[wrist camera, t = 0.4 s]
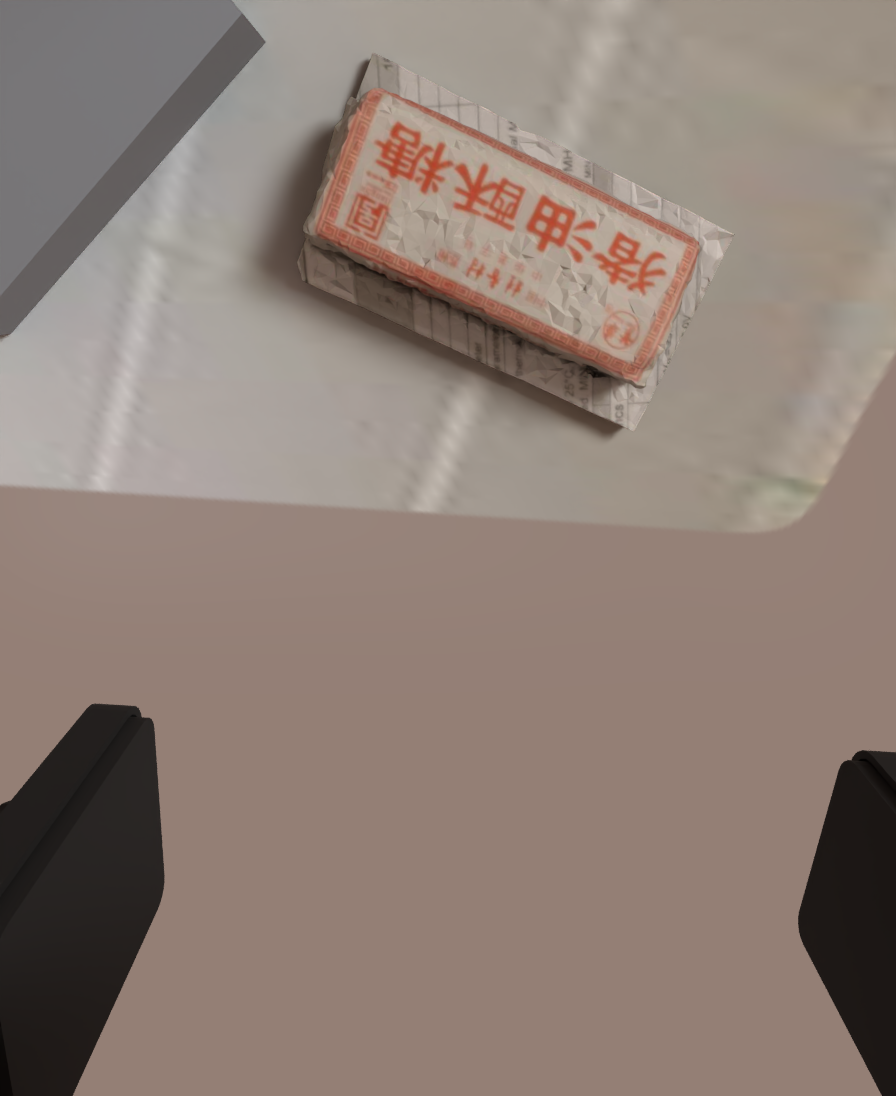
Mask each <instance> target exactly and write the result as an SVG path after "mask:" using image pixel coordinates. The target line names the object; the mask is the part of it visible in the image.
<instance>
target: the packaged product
mask: <svg viewBox="0 0 896 1096" xmlns="http://www.w3.org/2000/svg"><path fill="white" fill-rule="evenodd" d="M303 232H304V233H305V237H306V238H305V241H304V244H303V247H302V250H301V253H300V256H299V259H298V262H297V265H298V268H299V271H300V274H301V277H302V280H303V281H305V282H307V283H309V284H311V285H313V286H315V287H317V288H319V289H321V290H323V291H326V292H328V293H330V294H333V295H335V296H337V297H340V298H342V299H344V300H347V301H349V302H351V303H354V304H356V305H358V306H361V307H363V308H365V309H367V310H369V311H371V312H373V313H376V314H378V315H380V316H382V317H384V318H386V319H388V320H390V321H392V322H395V323H397V324H399V325H401V326H403V327H405V328H407V329H409V330H412V331H414V332H416V333H418V334H420V335H422V336H425V337H427V338H429V339H432V340H434V341H436V342H438V343H441V344H443V345H445V346H447V347H450V348H452V349H454V350H456V351H458V352H460V353H462V354H464V355H466V356H469V357H471V358H473V359H475V360H477V361H479V362H481V363H483V364H485V365H488V366H490V367H492V368H494V369H496V370H499V371H501V372H504V373H506V374H509V375H511V376H514V377H516V378H519V379H521V380H523V381H526V382H528V383H530V384H532V385H534V386H536V387H538V388H540V389H542V390H545V391H547V392H549V393H551V394H553V395H555V396H557V397H559V398H561V399H563V400H566V401H568V402H570V403H572V404H574V405H576V406H578V407H580V408H582V409H584V410H586V411H589V412H591V413H593V414H595V415H597V416H599V417H602V418H604V419H606V420H608V421H611V422H613V423H615V424H618V425H620V426H622V427H625V428H627V429H629V430H632V431H635V428H636V426H637V424H638V422H639V421H640V419H641V417H642V415H643V413H644V411H645V410H646V408H647V406H648V404H649V402H650V400H651V398H652V395H653V393H654V391H655V389H656V387H657V385H658V384H659V382H660V380H661V378H662V376H663V374H664V372H665V370H666V368H667V366H668V364H669V362H670V360H671V358H672V356H673V354H674V352H675V350H676V348H677V346H678V344H679V342H680V340H681V338H682V336H683V334H684V332H685V330H686V328H687V326H688V325H689V323H690V321H691V319H692V316H693V314H694V313H695V311H696V309H697V307H698V305H699V303H700V301H701V300H702V298H703V296H704V294H705V292H706V290H707V288H708V286H709V284H710V282H711V280H712V278H713V276H714V274H715V272H716V270H717V268H718V266H719V264H720V262H721V261H722V258H723V255H724V253H725V251H726V249H727V247H728V246H729V244H730V242H731V240H732V238H733V237H734V235H735V234H733V233H730V232H728V231H726V230H724V229H722V228H720V227H718V226H717V225H715V224H713V223H711V222H709V221H707V220H705V219H703V218H702V217H700V216H698V215H697V214H695V213H693V212H691V211H689V210H687V209H685V208H683V207H681V206H678V205H676V204H674V203H672V202H670V201H668V200H666V199H663V198H661V197H659V196H657V195H655V194H654V193H652V192H650V191H648V190H646V189H644V188H642V187H640V186H638V185H637V184H635V183H633V182H631V181H629V180H627V179H625V178H623V177H621V176H619V175H617V174H615V173H613V172H611V171H609V170H607V169H605V168H603V167H601V166H599V165H597V164H595V163H593V162H591V161H589V160H586V159H584V158H582V157H580V156H578V155H576V154H574V153H572V152H571V151H569V150H567V149H566V148H564V147H562V146H560V145H558V144H556V143H554V142H551V141H549V140H547V139H545V138H543V137H541V136H538V135H535V134H532V133H528V132H525V131H521V129H520V128H519V127H518V126H517V125H516V124H515V123H512V122H510V121H508V120H506V119H504V118H502V117H500V116H498V115H496V114H495V113H493V112H491V111H490V110H488V109H486V108H484V107H482V106H479V105H477V104H475V103H473V102H471V101H468V100H466V99H464V98H462V97H460V96H457V95H455V94H454V93H452V92H450V91H448V90H446V89H444V88H443V87H441V86H439V85H437V84H435V83H433V82H431V81H429V80H427V79H425V78H423V77H421V76H419V75H417V74H415V73H413V72H411V71H409V70H407V69H405V68H403V67H402V66H400V65H398V64H396V63H394V62H392V61H390V60H388V59H386V58H384V57H382V56H380V55H377V54H375V53H372V56H371V59H370V62H369V65H368V67H367V70H366V73H365V75H364V78H363V81H362V83H361V86H360V89H359V91H358V94H357V97H356V99H355V98H353V97H352V96H351V97H350V99H349V100H348V102H347V104H346V107H345V111H344V115H343V118H342V120H341V121H340V122H339V123H338V124H337V125H336V126H335V128H334V131H333V135H332V139H331V142H330V146H329V149H328V152H327V155H326V159H325V162H324V165H323V169H322V183H321V186H320V188H319V189H318V191H317V193H316V198H315V201H314V203H313V206H312V210H311V213H310V214H309V215H308V217H307V219H306V221H305V223H304V225H303Z"/></svg>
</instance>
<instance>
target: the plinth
mask: <svg viewBox="0 0 896 1096" xmlns="http://www.w3.org/2000/svg"><path fill="white" fill-rule="evenodd" d="M264 43H265V41H264V39H263V38H262V37H261V36H260V34H259V33H258V32H257V31H256V29H255V28H254V27H253V26H252V25H251V23H250V22H249V21H248V20H247V18H246V17H245V16H244V15H243V13H242V12H241V11H240V10H239V9H238V8H237V6H236V5H235V4H234V3H233V2H232V1H231V0H0V335H5V334H11V333H12V332H13V331H14V329H15V328H16V327H17V326H18V325H19V324H20V323H21V321H22V320H23V319H24V318H25V317H26V316H27V315H28V313H29V312H30V311H31V310H32V309H33V308H34V307H35V305H36V304H37V303H38V302H39V301H40V300H41V299H42V297H43V296H44V295H45V294H46V293H47V292H48V291H49V289H50V288H51V287H52V286H53V285H54V284H55V283H56V281H57V280H58V279H59V278H60V277H61V276H62V275H63V273H64V272H65V271H66V270H67V269H68V268H69V267H70V265H71V264H72V263H73V262H74V261H75V260H76V258H77V257H78V256H79V255H80V254H81V253H82V252H83V250H84V249H85V248H86V247H87V246H88V245H89V244H90V242H91V241H92V240H93V239H94V238H95V237H96V236H97V234H98V233H99V232H100V231H101V230H102V229H103V228H104V226H105V225H106V224H107V223H108V222H109V221H110V220H111V218H112V217H113V216H114V215H115V214H116V213H117V212H118V210H119V209H120V208H121V207H122V206H123V205H124V204H125V202H126V201H127V200H128V199H129V198H130V197H131V196H132V194H133V193H134V192H135V191H136V190H137V189H138V188H139V186H140V185H141V184H142V183H143V182H144V181H145V179H146V178H147V177H148V176H149V175H150V174H151V173H152V171H153V170H154V169H155V168H156V167H157V166H158V165H159V163H160V162H161V161H162V160H163V159H164V158H165V157H166V155H167V154H168V153H169V152H170V151H171V150H172V149H173V147H174V146H175V145H176V144H177V143H178V142H179V141H180V139H181V138H182V137H183V136H184V135H185V134H186V133H187V131H188V130H189V129H190V128H191V127H192V126H193V125H194V123H195V122H196V121H197V120H198V119H199V118H200V117H201V115H202V114H203V113H204V112H205V111H206V110H207V108H208V107H209V106H210V105H211V104H212V103H213V102H214V100H215V99H216V98H217V97H218V96H219V95H220V94H221V92H222V91H223V90H224V89H225V88H226V87H227V86H228V84H229V83H230V82H231V81H232V80H233V79H234V78H235V76H236V75H237V74H238V73H239V72H240V71H241V70H242V68H243V67H244V66H245V65H246V64H247V63H248V62H249V60H250V59H251V58H252V57H253V56H254V55H255V54H256V52H257V51H258V50H259V49H260V48H261V47H262V46H263V44H264Z"/></svg>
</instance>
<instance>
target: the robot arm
mask: <svg viewBox="0 0 896 1096" xmlns="http://www.w3.org/2000/svg"><path fill="white" fill-rule="evenodd" d="M163 889H164V863H163V849H162V835H161V820H160V805H159V791H158V776H157V762H156V746H155V732H154V724H153V721H152V719H150V718H142V717H141V713H140V710H139V708H137V707H136V706H125V705H108V704H92V705H90V706H89V707H88V708H87V709H86V710H85V712H84V713H83V714H82V715H81V716H80V718H79V719H78V720H77V721H76V723H75V724H74V725H73V726H72V727H71V729H70V730H69V731H68V732H67V733H66V735H65V736H64V737H63V738H62V740H61V741H60V742H59V743H58V744H57V745H56V747H55V748H54V749H53V750H52V752H51V753H50V754H49V755H48V756H47V758H46V759H45V760H44V761H43V763H42V764H41V765H40V766H39V767H38V769H37V770H36V771H35V772H34V773H33V775H32V776H31V777H30V778H29V779H28V781H27V782H26V783H25V784H24V785H23V787H22V788H21V789H20V790H19V791H18V793H17V794H16V795H15V796H14V798H13V799H12V800H11V801H8V802H5V803H3V804H1V805H0V1096H73V1093H74V1091H75V1089H76V1087H77V1085H78V1083H79V1080H80V1078H81V1076H82V1074H83V1072H84V1069H85V1067H86V1065H87V1063H88V1061H89V1058H90V1056H91V1054H92V1052H93V1050H94V1048H95V1045H96V1043H97V1041H98V1039H99V1037H100V1034H101V1032H102V1030H103V1028H104V1026H105V1023H106V1021H107V1019H108V1017H109V1015H110V1012H111V1010H112V1008H113V1006H114V1004H115V1001H116V999H117V997H118V995H119V993H120V991H121V988H122V986H123V984H124V982H125V980H126V978H127V975H128V973H129V971H130V969H131V967H132V964H133V962H134V960H135V958H136V955H137V953H138V951H139V949H140V947H141V945H142V943H143V940H144V938H145V936H146V934H147V932H148V929H149V927H150V925H151V923H152V921H153V918H154V916H155V914H156V912H157V910H158V907H159V904H160V902H161V898H162V894H163ZM798 925H799V933H800V937H801V939H802V942H803V945H804V947H805V948H806V950H807V952H808V954H809V956H810V958H811V960H812V962H813V964H814V966H815V968H816V970H817V972H818V974H819V975H820V977H821V979H822V981H823V983H824V985H825V987H826V989H827V990H828V992H829V995H830V997H831V998H832V1000H833V1002H834V1004H835V1006H836V1008H837V1010H838V1012H839V1014H840V1016H841V1018H842V1020H843V1022H844V1023H845V1025H846V1027H847V1029H848V1031H849V1033H850V1035H851V1037H852V1039H853V1041H854V1043H855V1045H856V1046H857V1049H858V1050H859V1052H860V1054H861V1056H862V1058H863V1060H864V1062H865V1064H866V1066H867V1068H868V1070H869V1072H870V1073H871V1075H872V1077H873V1079H874V1081H875V1083H876V1085H877V1087H878V1089H879V1091H880V1093H881V1094H882V1096H896V752H880V751H864V750H862V751H859V752H857V753H856V754H855V755H854V756H853V758H852V760H847V761H845V762H843V763H842V765H841V766H840V769H839V771H838V775H837V779H836V782H835V786H834V790H833V793H832V796H831V800H830V804H829V807H828V811H827V814H826V818H825V821H824V825H823V829H822V832H821V836H820V839H819V843H818V846H817V850H816V854H815V857H814V861H813V864H812V868H811V871H810V875H809V879H808V882H807V886H806V889H805V893H804V896H803V900H802V904H801V907H800V911H799V916H798Z"/></svg>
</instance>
